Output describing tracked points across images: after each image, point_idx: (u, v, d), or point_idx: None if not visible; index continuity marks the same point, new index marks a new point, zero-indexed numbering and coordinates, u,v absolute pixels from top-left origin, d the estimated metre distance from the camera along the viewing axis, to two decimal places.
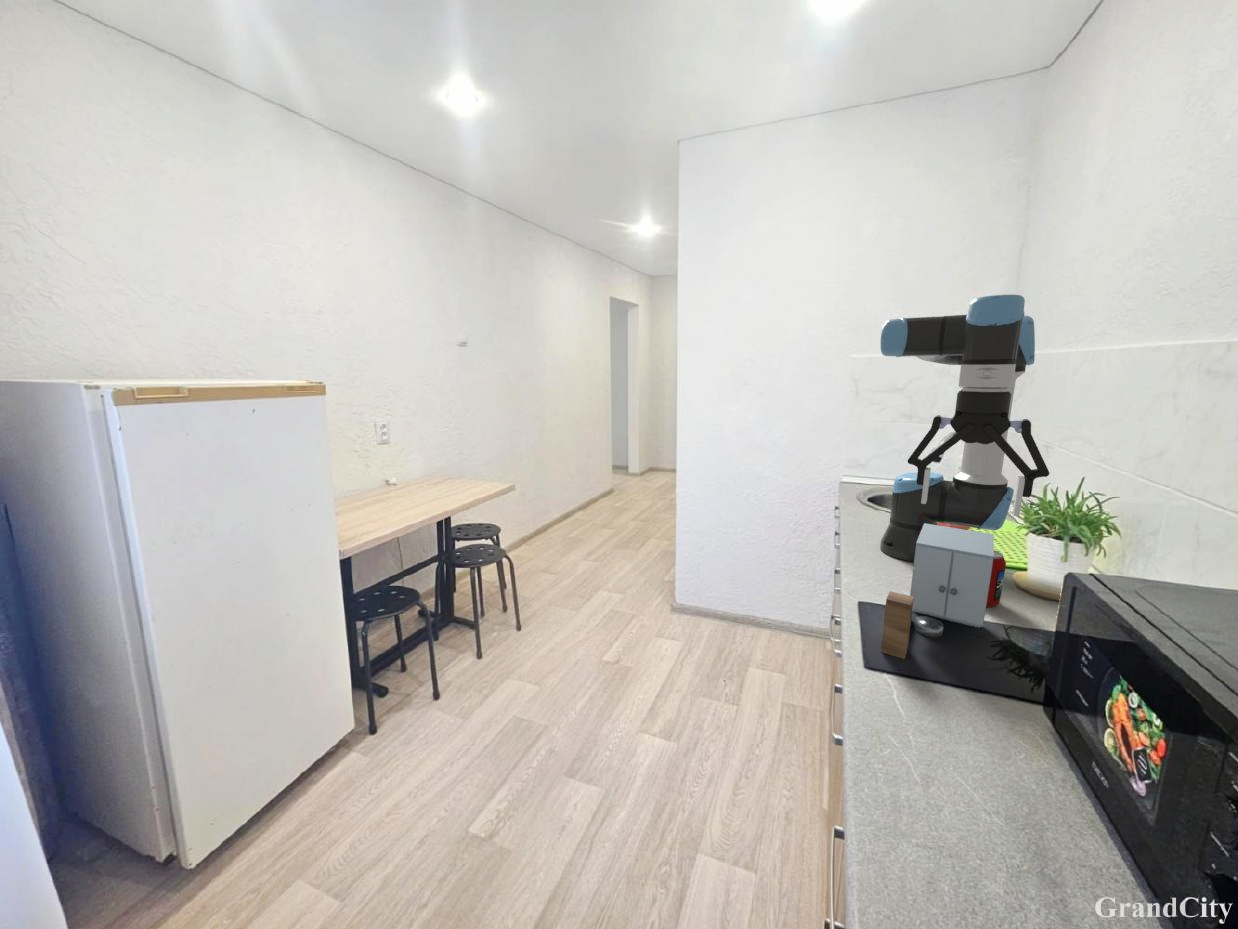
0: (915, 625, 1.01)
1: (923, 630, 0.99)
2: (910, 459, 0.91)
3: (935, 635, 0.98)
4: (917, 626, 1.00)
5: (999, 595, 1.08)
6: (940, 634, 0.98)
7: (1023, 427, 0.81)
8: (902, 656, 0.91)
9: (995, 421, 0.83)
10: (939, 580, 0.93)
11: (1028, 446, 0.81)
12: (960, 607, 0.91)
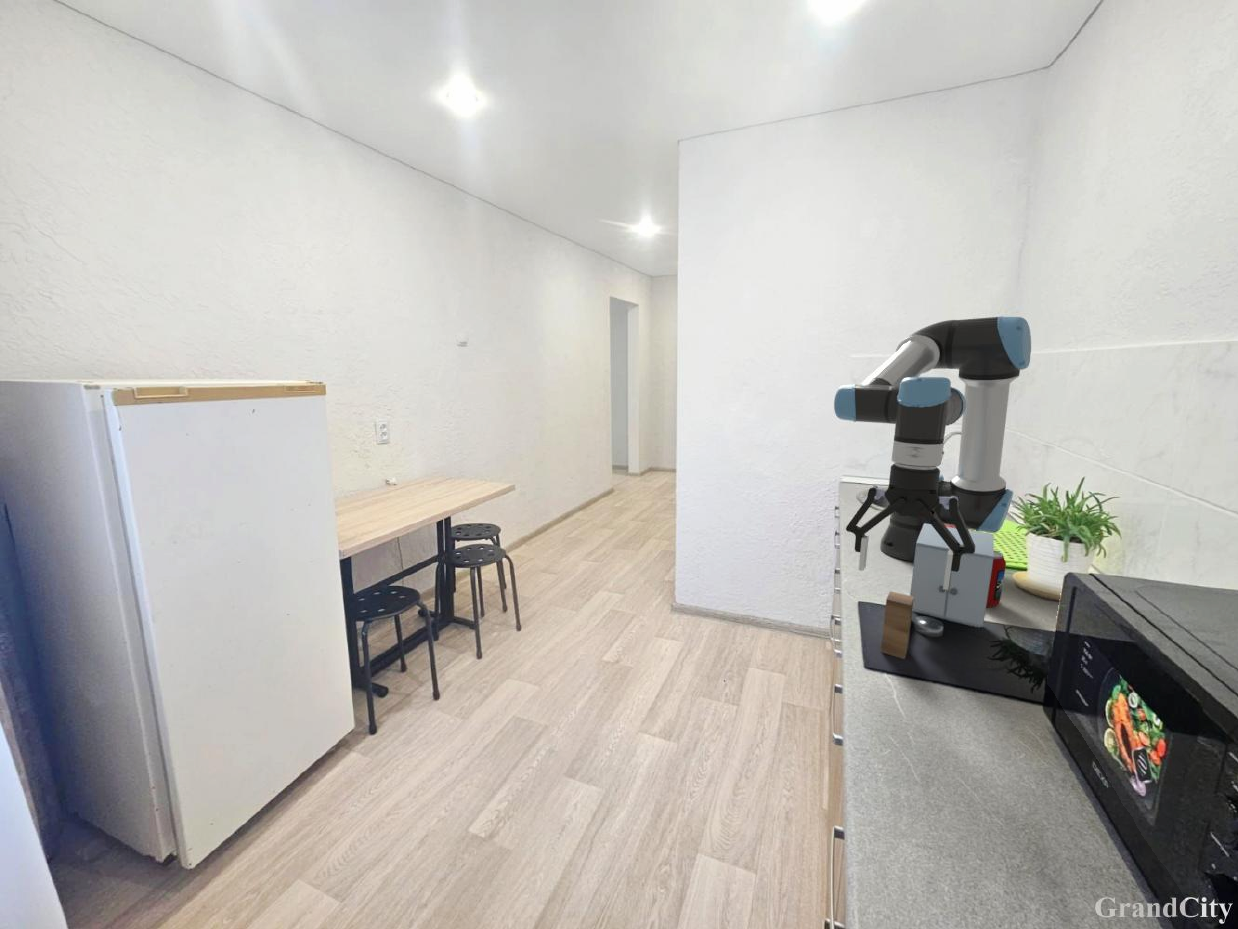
0: (915, 625, 1.01)
1: (923, 630, 0.99)
2: (848, 527, 0.93)
3: (935, 635, 0.98)
4: (917, 626, 1.00)
5: (999, 595, 1.08)
6: (940, 634, 0.98)
7: (950, 504, 0.83)
8: (902, 656, 0.91)
9: (925, 497, 0.85)
10: (939, 580, 0.93)
11: (955, 523, 0.83)
12: (960, 607, 0.91)
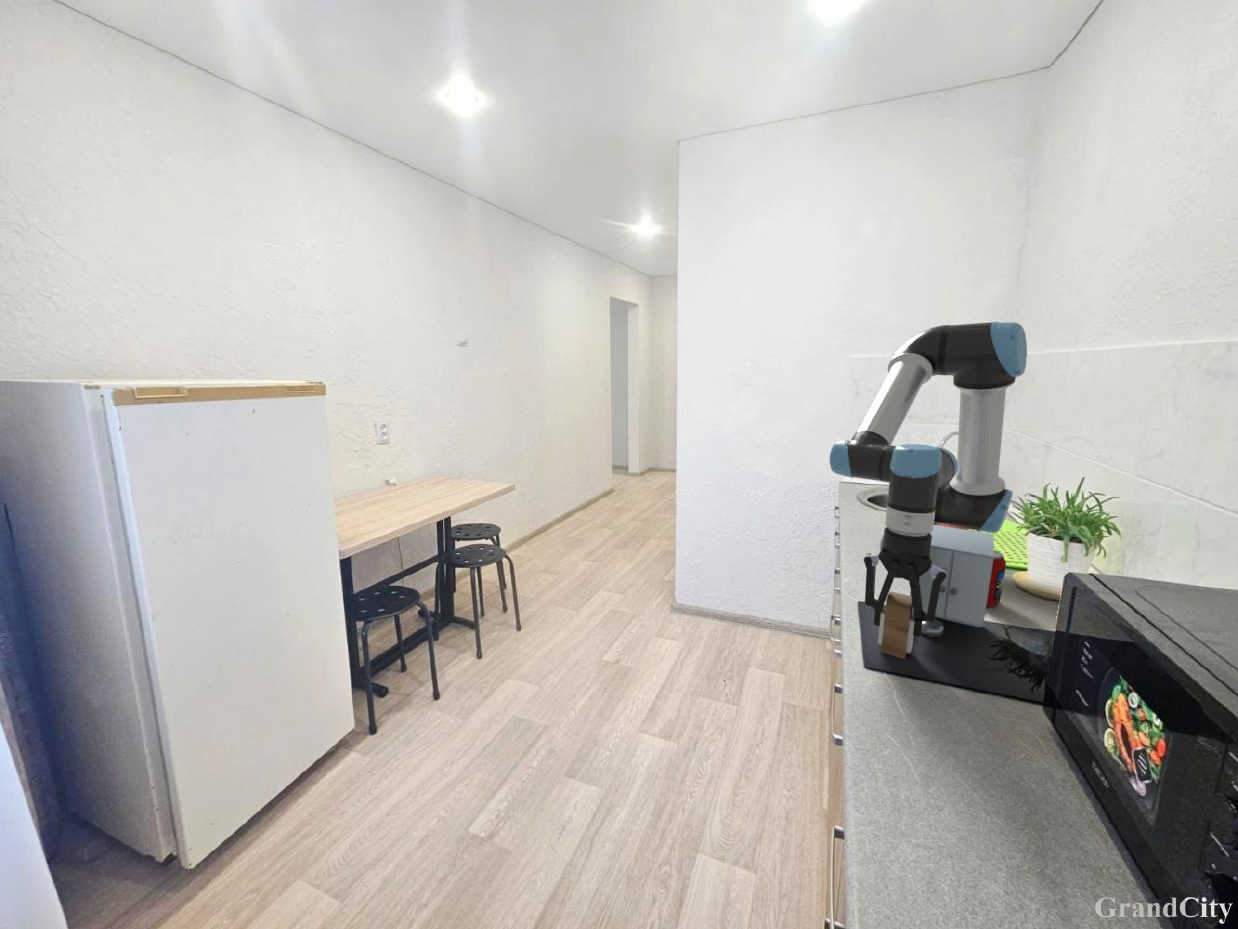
0: None
1: (923, 630, 0.99)
2: (866, 601, 0.94)
3: (935, 635, 0.98)
4: None
5: (999, 595, 1.08)
6: (940, 634, 0.98)
7: (938, 577, 0.86)
8: (902, 656, 0.91)
9: (920, 559, 0.87)
10: None
11: (931, 592, 0.87)
12: (960, 607, 0.91)
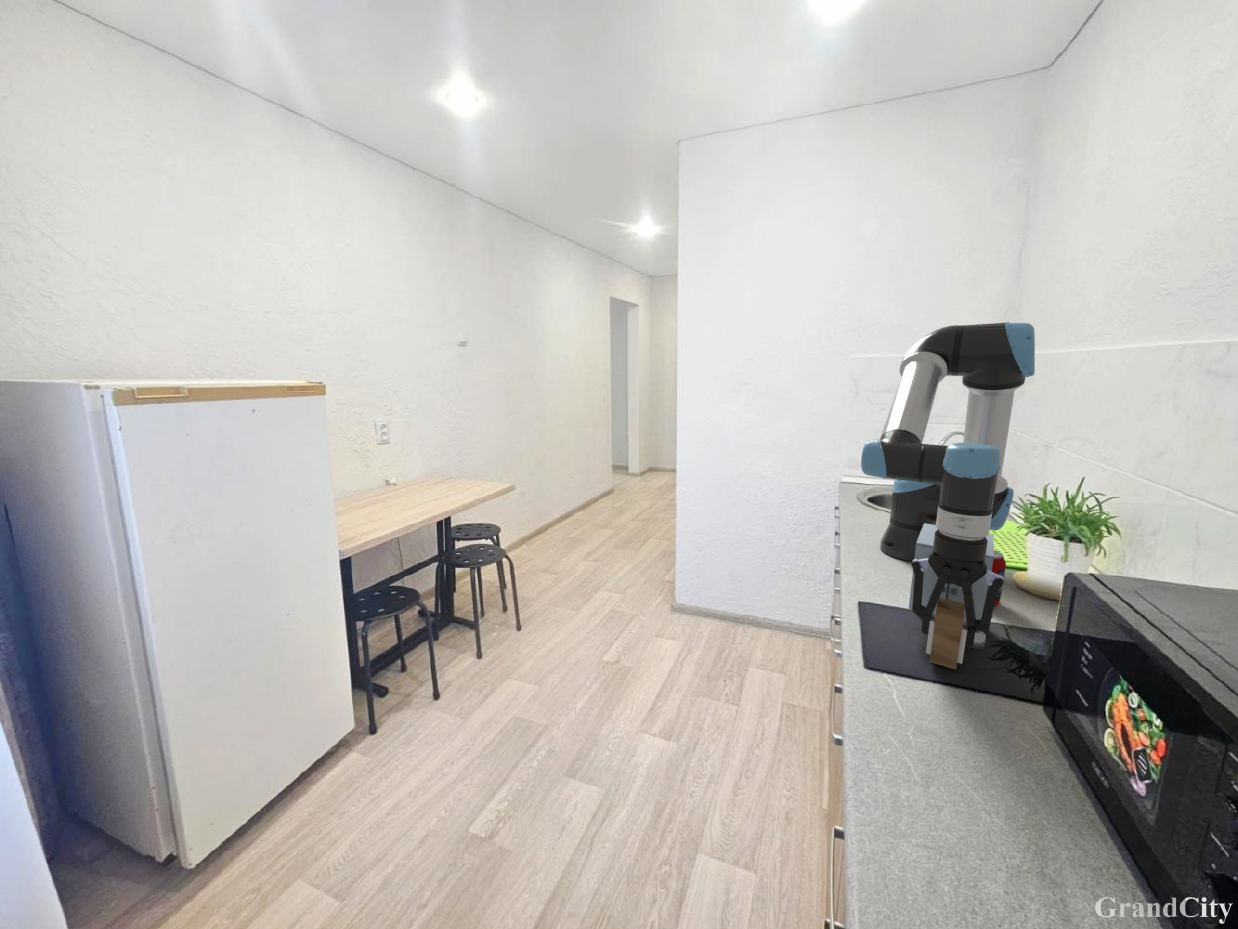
0: None
1: None
2: (914, 608, 0.89)
3: (978, 645, 0.94)
4: None
5: (999, 595, 1.08)
6: (983, 644, 0.94)
7: (994, 583, 0.81)
8: (953, 667, 0.86)
9: (974, 565, 0.82)
10: None
11: (987, 600, 0.82)
12: None
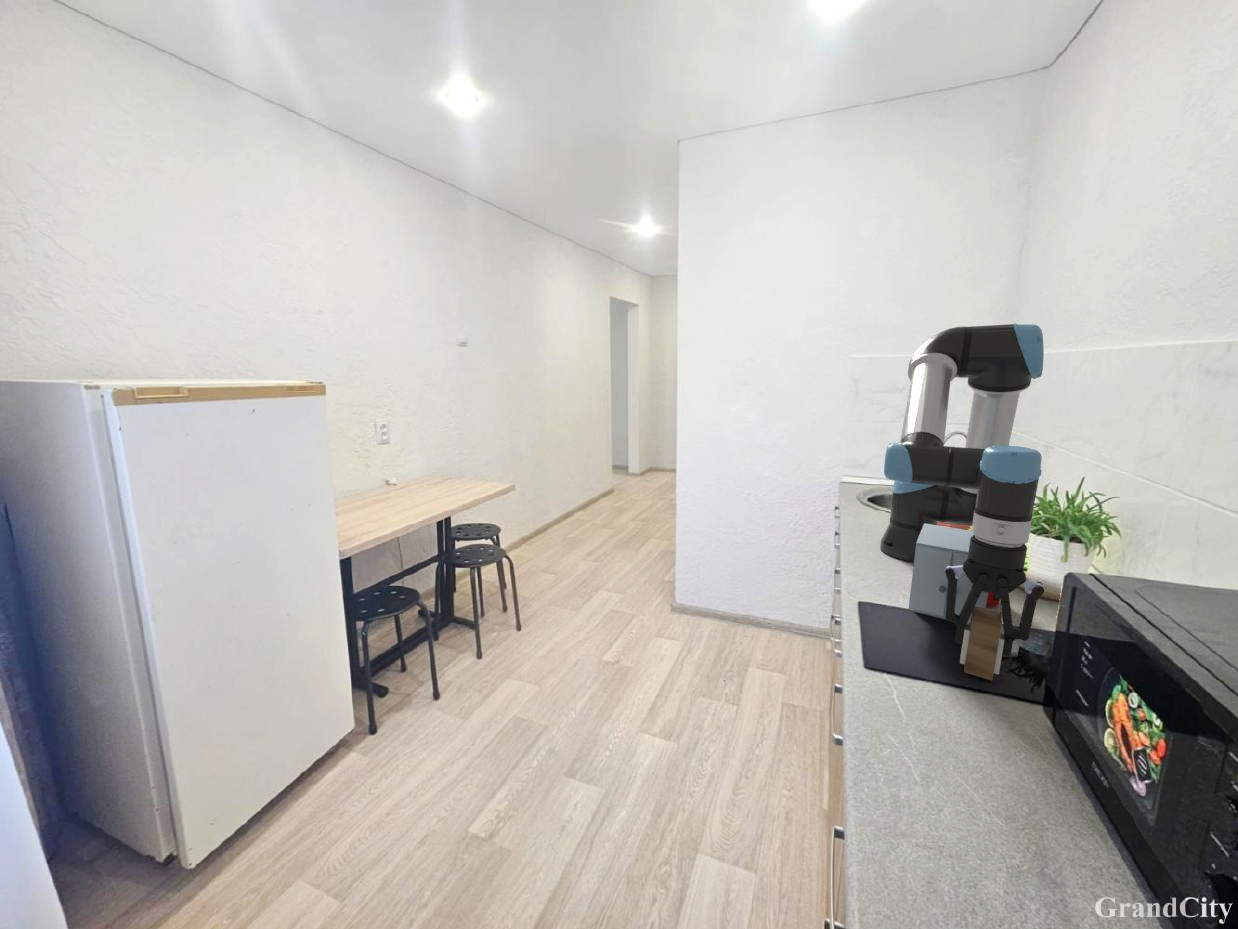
0: None
1: None
2: (947, 617, 0.86)
3: (1011, 655, 0.91)
4: None
5: (999, 595, 1.08)
6: (1016, 654, 0.91)
7: (1034, 591, 0.78)
8: (989, 677, 0.83)
9: (1013, 572, 0.79)
10: (939, 580, 0.93)
11: (1026, 609, 0.79)
12: (960, 607, 0.91)
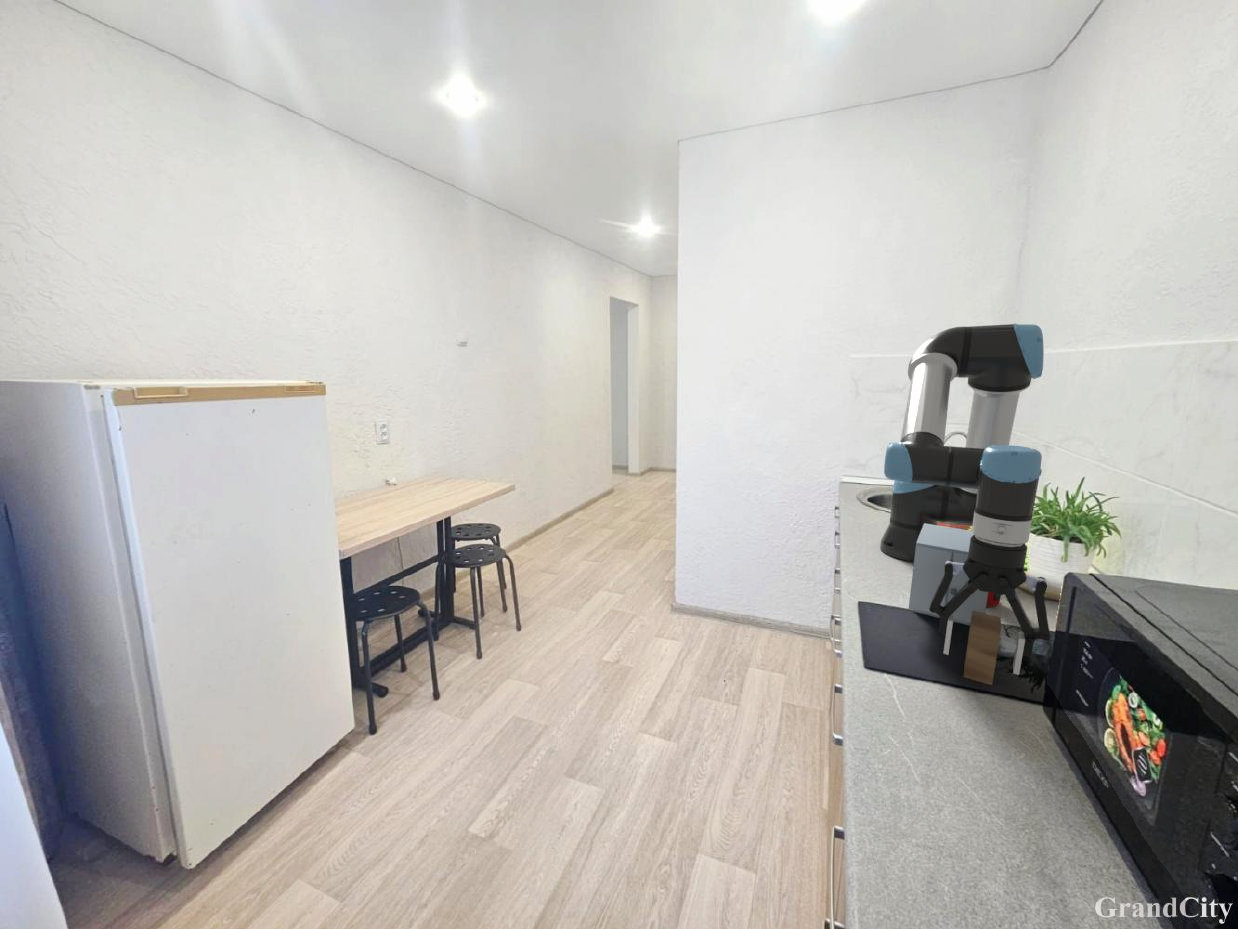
0: None
1: (998, 650, 0.92)
2: (931, 608, 0.87)
3: (1011, 655, 0.91)
4: None
5: (999, 595, 1.08)
6: None
7: (1038, 588, 0.78)
8: (989, 682, 0.83)
9: (1011, 573, 0.79)
10: (939, 580, 0.93)
11: (1037, 607, 0.78)
12: (960, 607, 0.91)
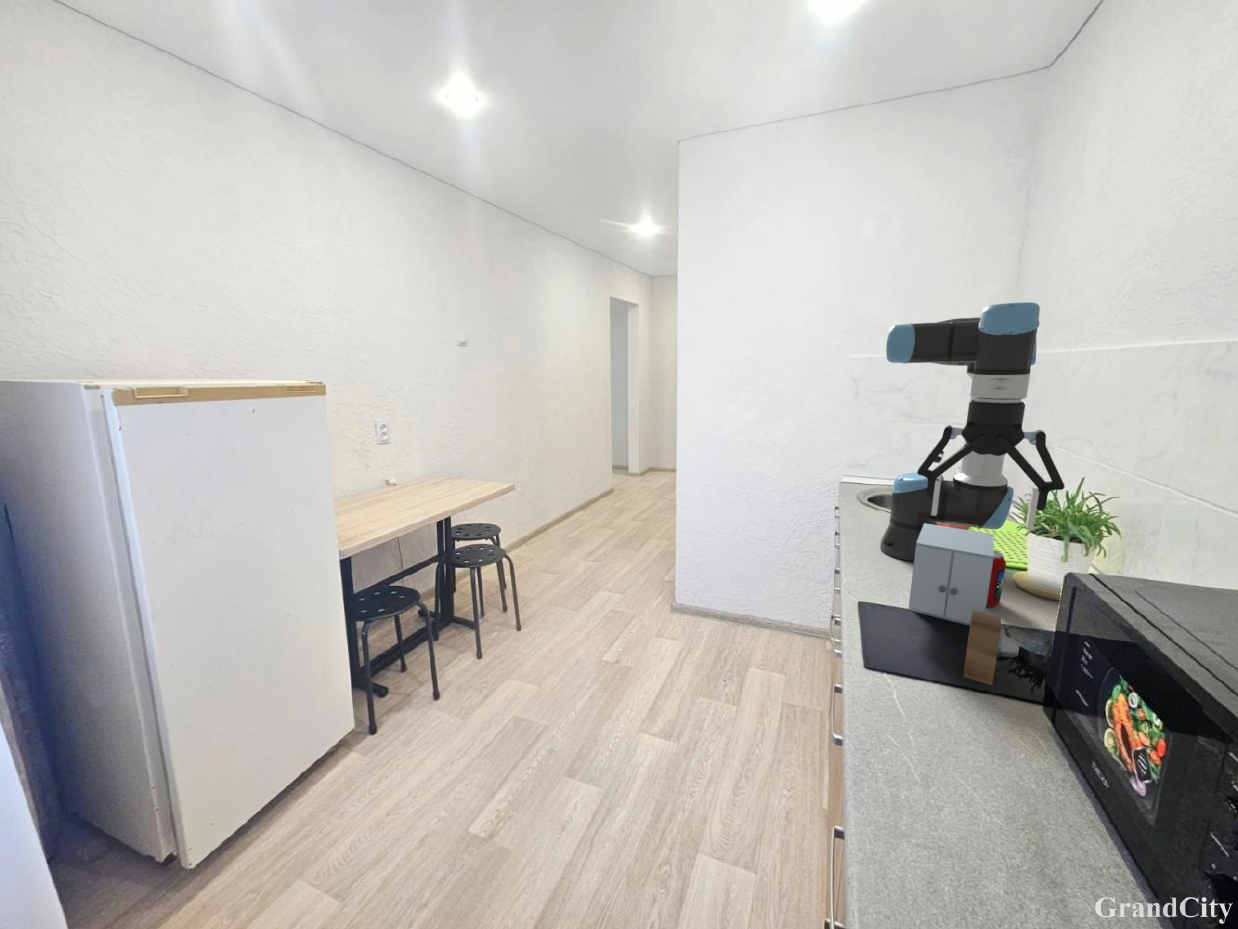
0: None
1: None
2: (920, 470, 0.89)
3: (1011, 655, 0.91)
4: None
5: (999, 595, 1.08)
6: (1016, 654, 0.91)
7: (1037, 439, 0.78)
8: (989, 682, 0.83)
9: (1008, 432, 0.80)
10: (939, 580, 0.93)
11: (1042, 458, 0.78)
12: (960, 607, 0.91)
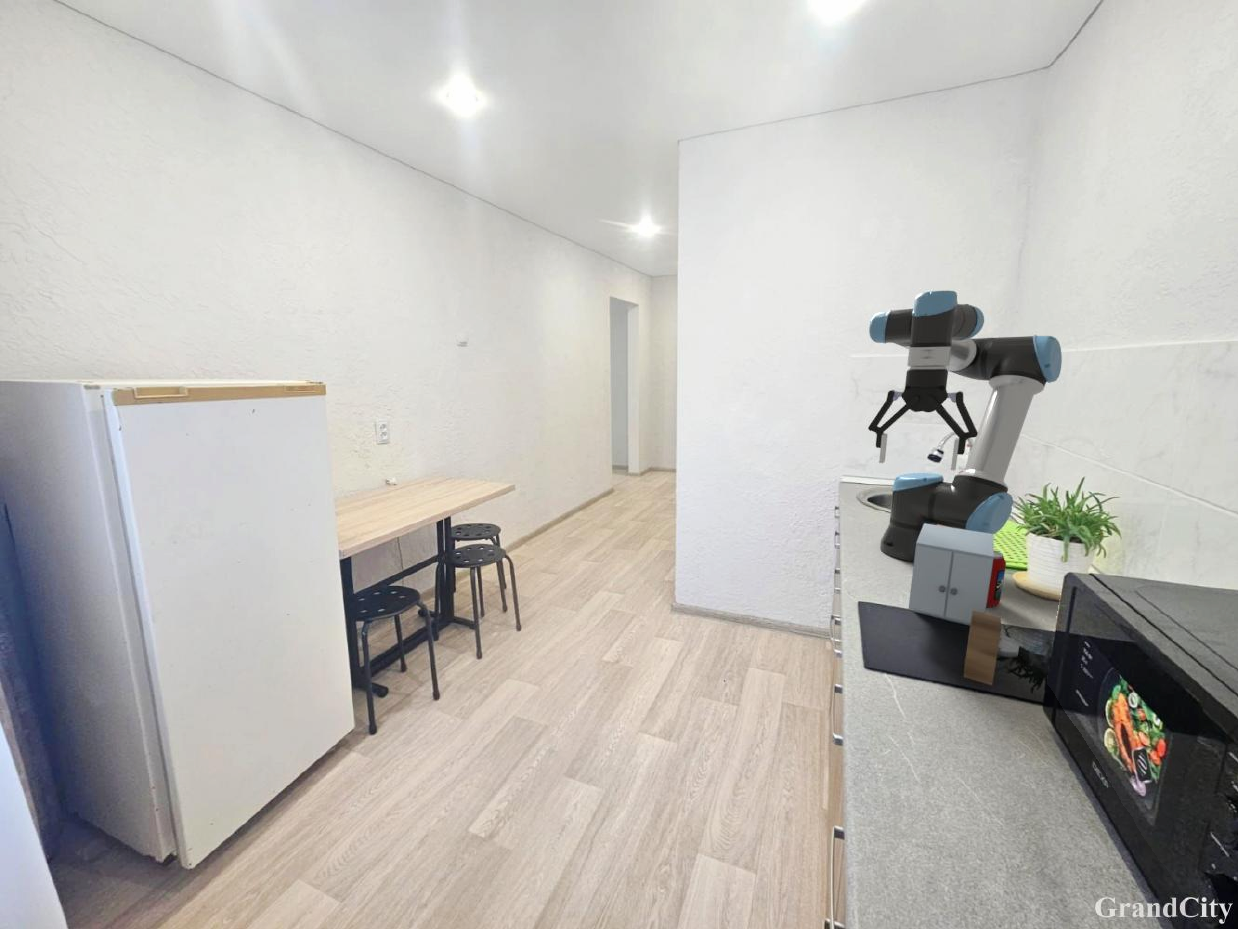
0: None
1: None
2: (870, 426, 1.11)
3: (1010, 655, 0.91)
4: None
5: (999, 595, 1.08)
6: (1016, 654, 0.91)
7: (957, 397, 1.00)
8: (989, 682, 0.83)
9: (935, 393, 1.02)
10: (939, 580, 0.93)
11: (961, 413, 1.00)
12: (960, 607, 0.91)
